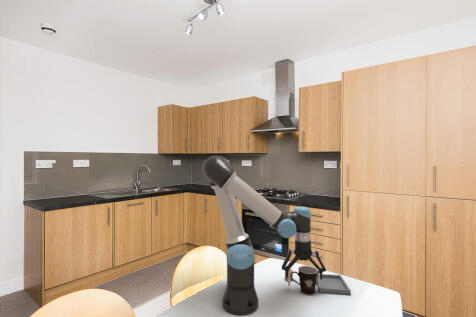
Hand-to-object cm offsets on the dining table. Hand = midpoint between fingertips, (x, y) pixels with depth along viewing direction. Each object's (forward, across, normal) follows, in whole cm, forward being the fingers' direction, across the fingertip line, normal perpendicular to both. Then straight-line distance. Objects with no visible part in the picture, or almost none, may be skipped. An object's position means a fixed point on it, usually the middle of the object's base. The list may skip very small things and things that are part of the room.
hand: (303, 285), depth 116 cm
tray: (+2, +14, +6) cm, 15 cm away
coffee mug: (+2, 0, 0) cm, 2 cm away
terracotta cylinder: (+2, -6, +10) cm, 12 cm away
